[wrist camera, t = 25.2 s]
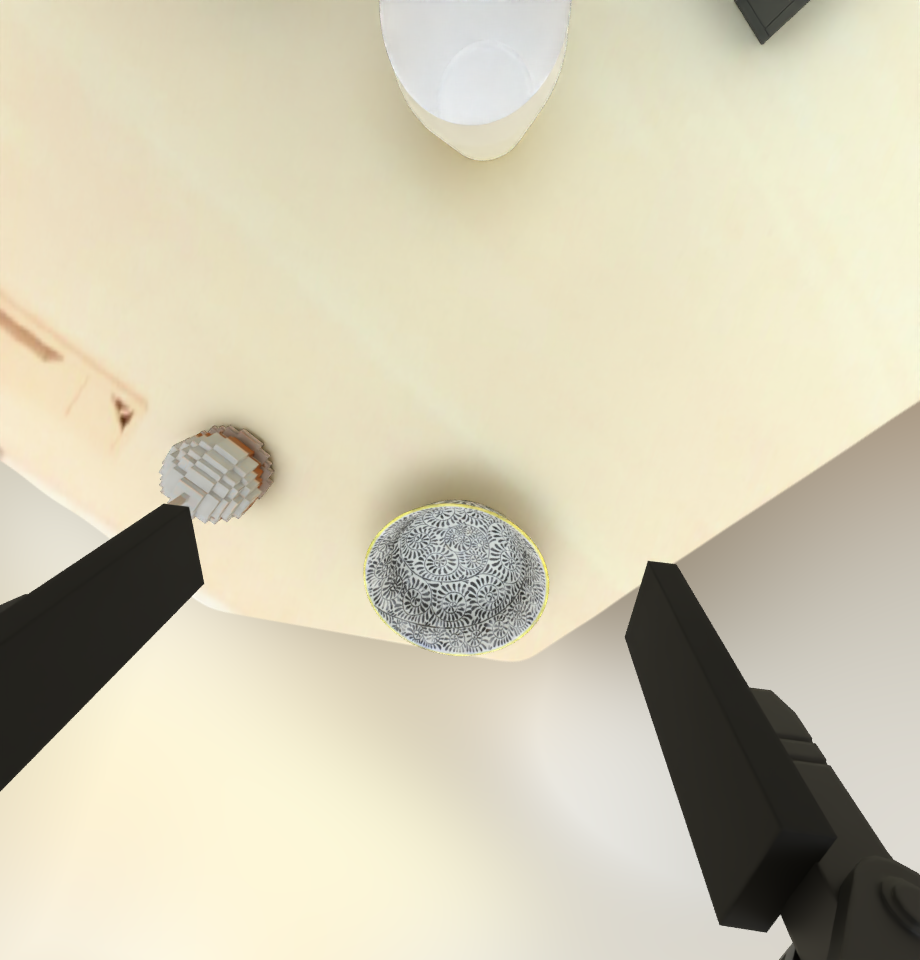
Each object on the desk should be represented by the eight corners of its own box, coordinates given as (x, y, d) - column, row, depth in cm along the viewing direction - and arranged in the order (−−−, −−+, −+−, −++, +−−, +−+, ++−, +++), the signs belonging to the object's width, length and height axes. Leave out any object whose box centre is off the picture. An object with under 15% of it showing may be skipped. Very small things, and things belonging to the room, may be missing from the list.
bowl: (445, 626, 50) (436, 681, 43) (352, 521, 46) (325, 563, 39) (572, 561, 45) (584, 611, 38) (481, 436, 41) (476, 467, 34)
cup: (442, -5, 29) (405, -177, 18) (572, 46, 30) (612, -93, 19) (405, 155, 33) (355, 92, 22) (522, 199, 33) (530, 158, 22)
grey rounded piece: (185, 463, 45) (44, 543, 31) (221, 407, 42) (85, 467, 28) (251, 512, 46) (145, 608, 33) (290, 460, 44) (192, 542, 30)
